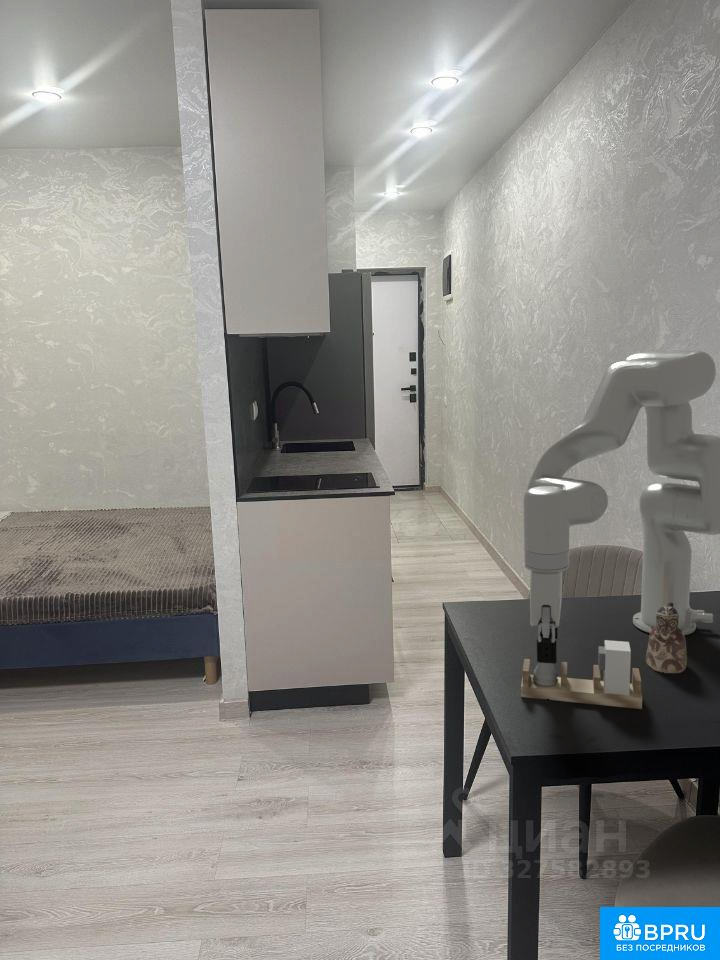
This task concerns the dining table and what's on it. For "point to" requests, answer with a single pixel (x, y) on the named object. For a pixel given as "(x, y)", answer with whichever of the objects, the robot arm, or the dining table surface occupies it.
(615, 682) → the white and grey block
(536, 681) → the rook chess piece
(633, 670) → the wooden slotted rack
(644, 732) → the dining table surface
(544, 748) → the dining table surface
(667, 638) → the figurine
